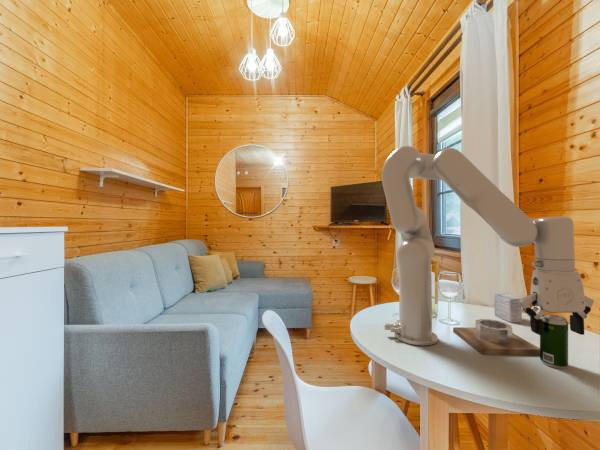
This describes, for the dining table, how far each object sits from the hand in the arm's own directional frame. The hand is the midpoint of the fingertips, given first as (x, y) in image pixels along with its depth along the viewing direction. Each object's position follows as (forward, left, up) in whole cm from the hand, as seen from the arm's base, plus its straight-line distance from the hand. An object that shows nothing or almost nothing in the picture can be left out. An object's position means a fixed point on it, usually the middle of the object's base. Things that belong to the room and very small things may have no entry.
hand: (557, 333), depth 72 cm
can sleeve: (-8, +13, -7) cm, 17 cm away
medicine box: (+10, +34, -8) cm, 37 cm away
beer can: (-1, 0, -8) cm, 8 cm away
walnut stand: (-8, +13, -8) cm, 17 cm away
